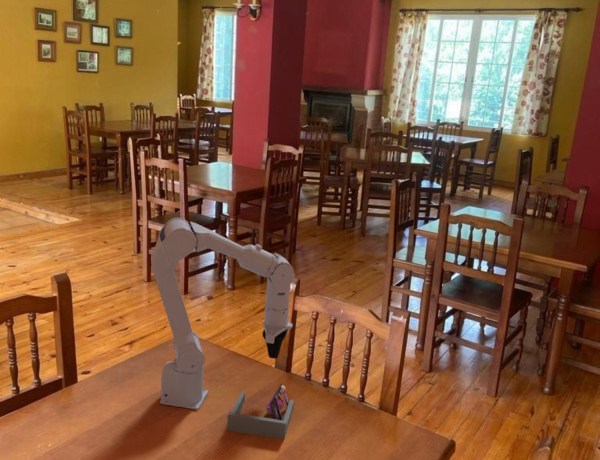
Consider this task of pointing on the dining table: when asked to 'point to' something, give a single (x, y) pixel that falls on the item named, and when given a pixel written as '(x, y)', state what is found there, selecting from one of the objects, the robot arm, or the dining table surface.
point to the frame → (258, 421)
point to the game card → (277, 404)
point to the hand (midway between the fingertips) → (273, 356)
